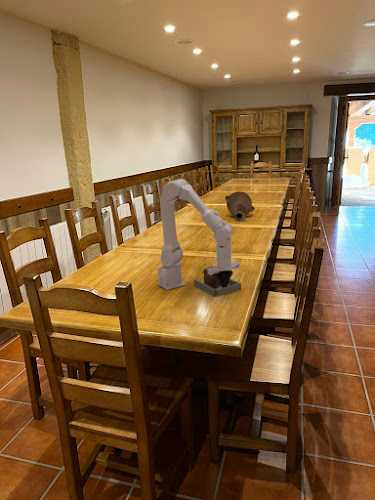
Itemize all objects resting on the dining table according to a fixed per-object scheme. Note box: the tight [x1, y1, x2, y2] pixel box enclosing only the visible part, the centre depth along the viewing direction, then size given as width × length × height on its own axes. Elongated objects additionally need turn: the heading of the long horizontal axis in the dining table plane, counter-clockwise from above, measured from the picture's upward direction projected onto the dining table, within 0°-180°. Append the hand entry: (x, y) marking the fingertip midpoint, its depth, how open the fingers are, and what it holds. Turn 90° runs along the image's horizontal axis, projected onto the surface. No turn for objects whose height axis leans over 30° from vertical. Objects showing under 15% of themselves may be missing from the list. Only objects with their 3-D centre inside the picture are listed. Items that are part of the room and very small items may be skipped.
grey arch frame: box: [193, 278, 242, 297], centre depth 154 cm, size 13×15×2 cm
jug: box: [224, 191, 255, 222], centre depth 285 cm, size 20×20×30 cm
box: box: [203, 265, 221, 289], centre depth 155 cm, size 6×6×7 cm
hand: (224, 288), depth 150 cm, fingers closed
